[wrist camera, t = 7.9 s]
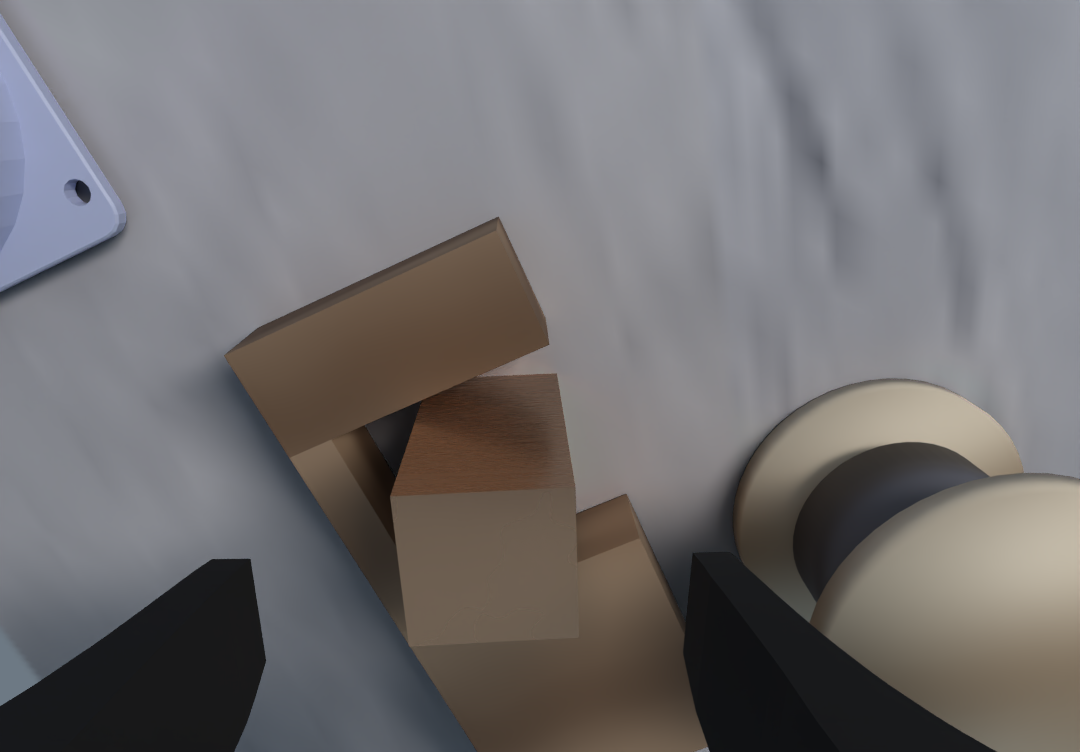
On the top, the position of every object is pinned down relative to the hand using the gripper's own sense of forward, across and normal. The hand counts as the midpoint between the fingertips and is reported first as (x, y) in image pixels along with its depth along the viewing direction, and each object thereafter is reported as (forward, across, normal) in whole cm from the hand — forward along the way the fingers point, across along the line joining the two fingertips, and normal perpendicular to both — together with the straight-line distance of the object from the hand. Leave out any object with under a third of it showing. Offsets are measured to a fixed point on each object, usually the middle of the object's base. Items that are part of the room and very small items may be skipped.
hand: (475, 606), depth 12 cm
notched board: (+6, 0, +2) cm, 6 cm away
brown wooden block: (+6, 0, 0) cm, 6 cm away
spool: (+6, -10, +2) cm, 11 cm away
